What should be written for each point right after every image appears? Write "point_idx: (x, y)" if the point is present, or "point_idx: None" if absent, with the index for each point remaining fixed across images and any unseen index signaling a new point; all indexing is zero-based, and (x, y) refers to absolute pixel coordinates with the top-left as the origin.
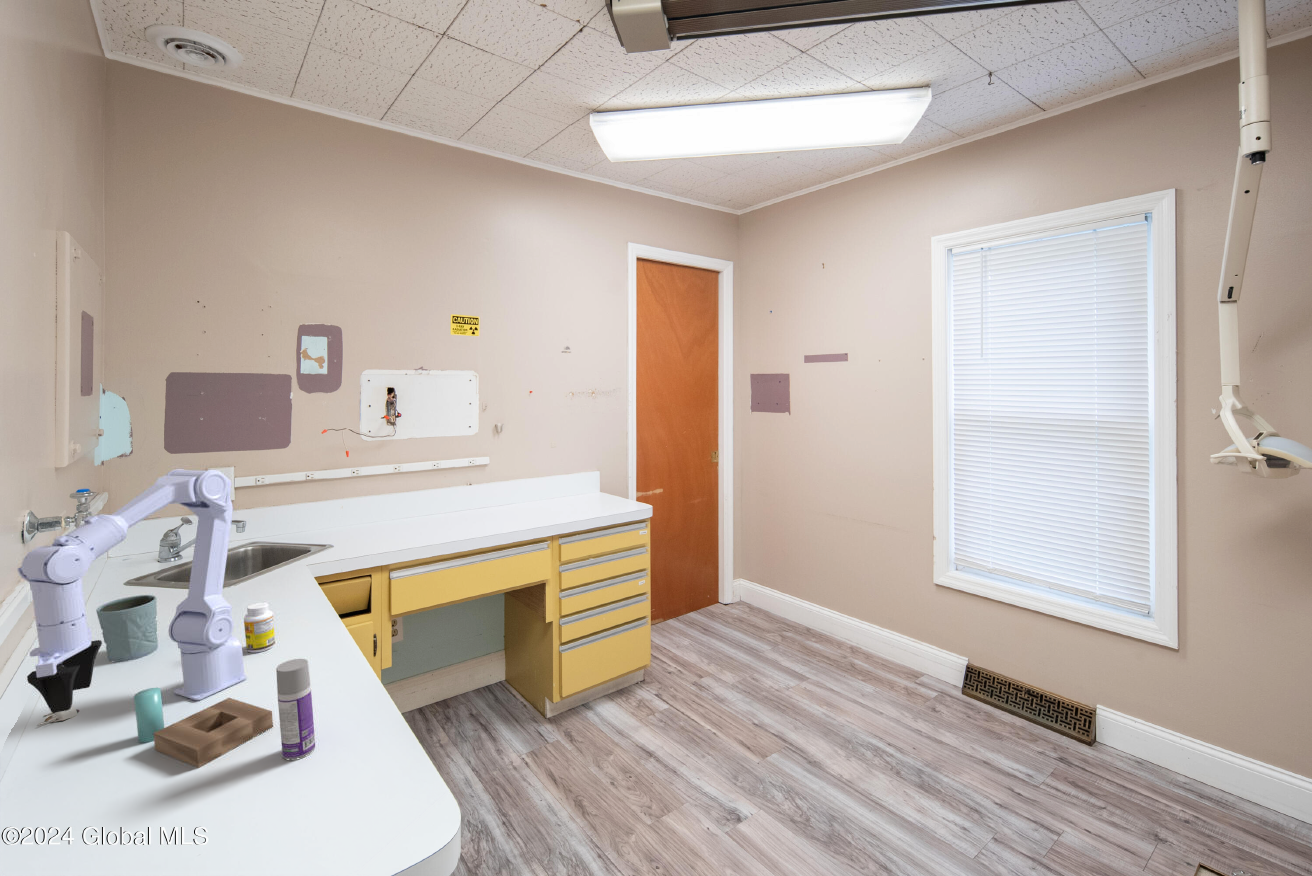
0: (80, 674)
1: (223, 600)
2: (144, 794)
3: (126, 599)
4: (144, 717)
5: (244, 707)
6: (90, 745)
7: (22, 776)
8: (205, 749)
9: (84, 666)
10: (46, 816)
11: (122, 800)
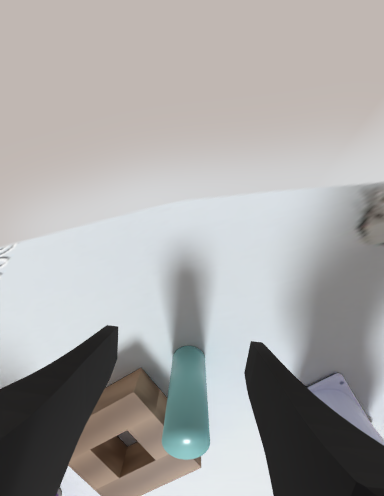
0: (264, 402)
1: None
2: (24, 368)
3: None
4: (168, 393)
5: (149, 483)
6: (216, 288)
7: (165, 217)
8: None
9: (274, 446)
10: (23, 277)
11: (22, 349)
